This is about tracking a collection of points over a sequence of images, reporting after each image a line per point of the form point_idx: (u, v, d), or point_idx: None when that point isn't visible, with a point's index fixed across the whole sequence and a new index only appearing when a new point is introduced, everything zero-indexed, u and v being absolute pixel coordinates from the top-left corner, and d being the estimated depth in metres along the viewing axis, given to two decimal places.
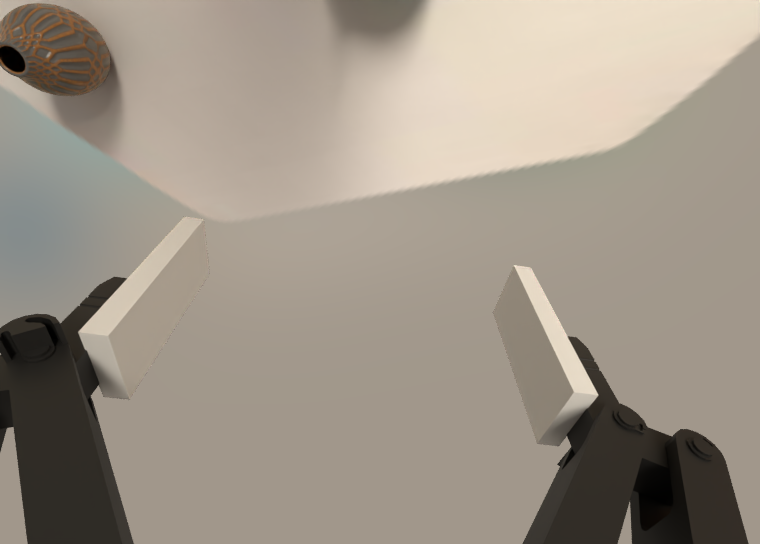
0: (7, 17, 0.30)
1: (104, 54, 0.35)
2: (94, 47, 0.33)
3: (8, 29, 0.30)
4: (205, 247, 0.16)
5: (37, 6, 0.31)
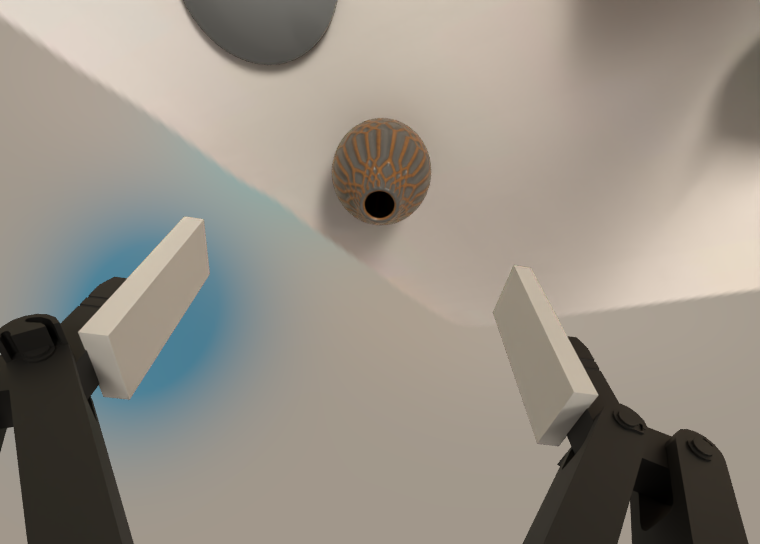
0: (366, 148, 0.24)
1: None
2: None
3: (373, 166, 0.23)
4: (205, 247, 0.16)
5: (390, 129, 0.25)
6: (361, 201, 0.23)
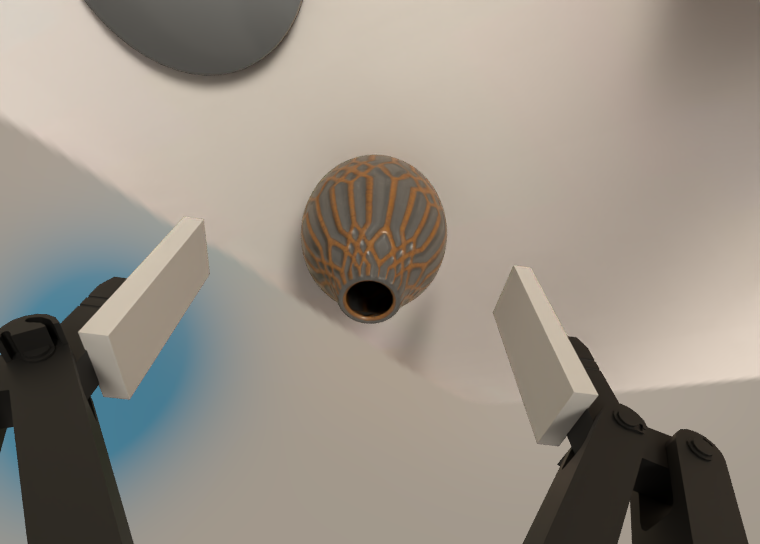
0: (349, 208, 0.15)
1: None
2: None
3: (360, 238, 0.15)
4: (205, 247, 0.16)
5: (388, 176, 0.16)
6: (340, 294, 0.14)
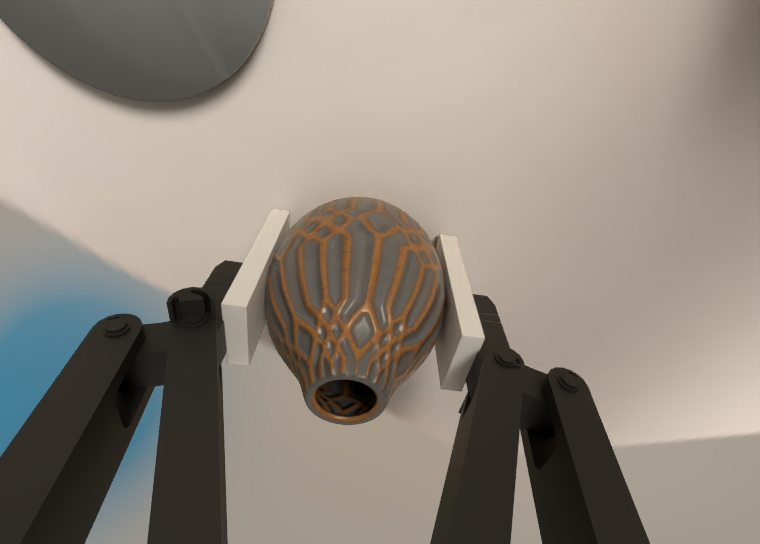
0: (320, 278, 0.12)
1: None
2: None
3: (333, 319, 0.11)
4: None
5: (371, 232, 0.13)
6: (307, 394, 0.11)
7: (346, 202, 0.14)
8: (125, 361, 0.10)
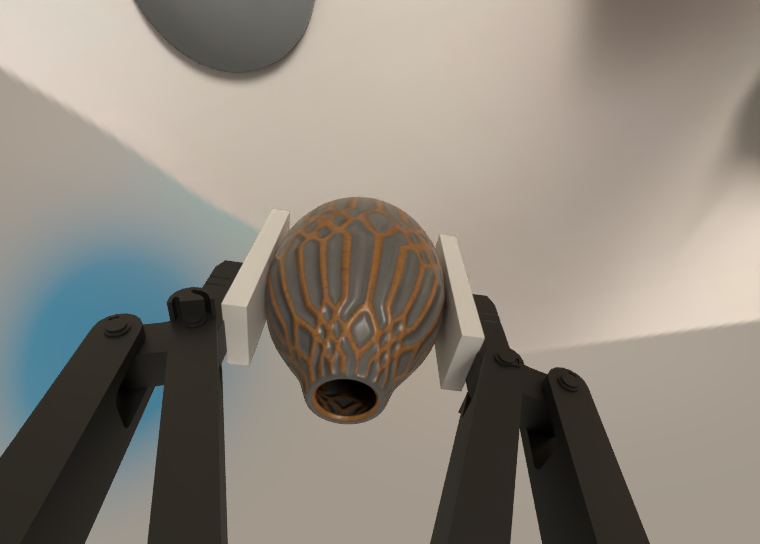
0: (320, 277, 0.12)
1: None
2: None
3: (333, 318, 0.11)
4: None
5: (371, 232, 0.13)
6: (307, 394, 0.11)
7: (346, 202, 0.14)
8: (125, 361, 0.10)
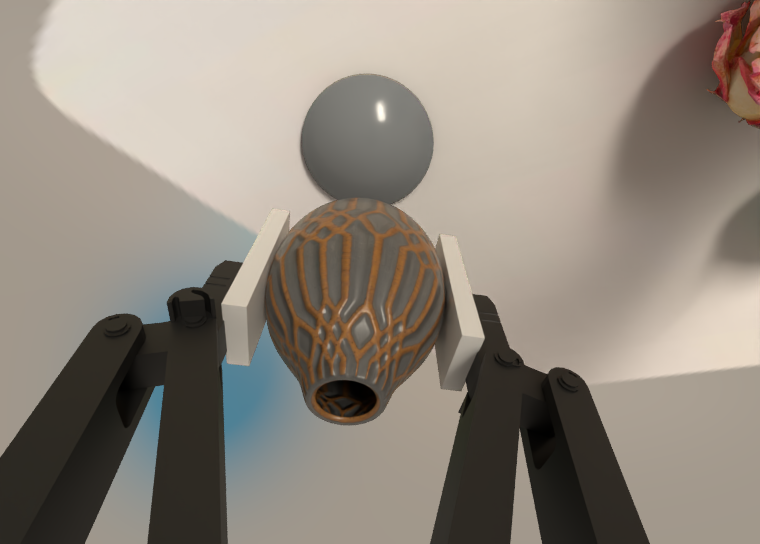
0: (320, 278, 0.12)
1: None
2: None
3: (333, 319, 0.11)
4: None
5: (371, 233, 0.13)
6: (307, 395, 0.11)
7: (346, 203, 0.14)
8: (125, 361, 0.10)
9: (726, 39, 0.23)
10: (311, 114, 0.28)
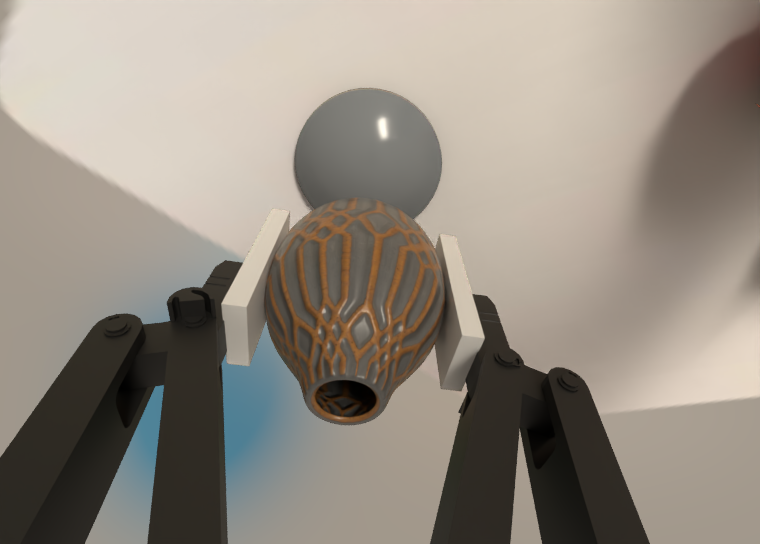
0: (320, 278, 0.12)
1: None
2: None
3: (333, 319, 0.11)
4: None
5: (371, 233, 0.13)
6: (307, 395, 0.11)
7: (346, 203, 0.14)
8: (125, 361, 0.10)
9: None
10: (305, 133, 0.25)
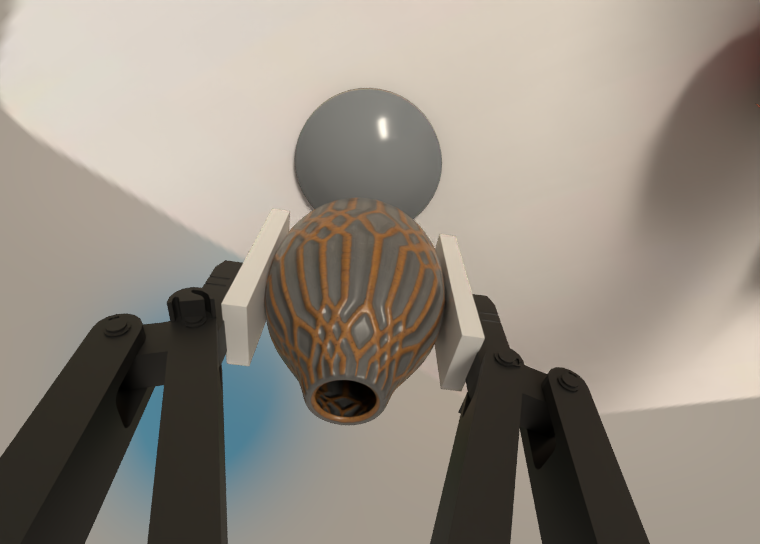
0: (320, 278, 0.12)
1: None
2: None
3: (333, 319, 0.11)
4: None
5: (371, 233, 0.13)
6: (307, 395, 0.11)
7: (346, 203, 0.14)
8: (125, 361, 0.10)
9: None
10: (305, 133, 0.25)
